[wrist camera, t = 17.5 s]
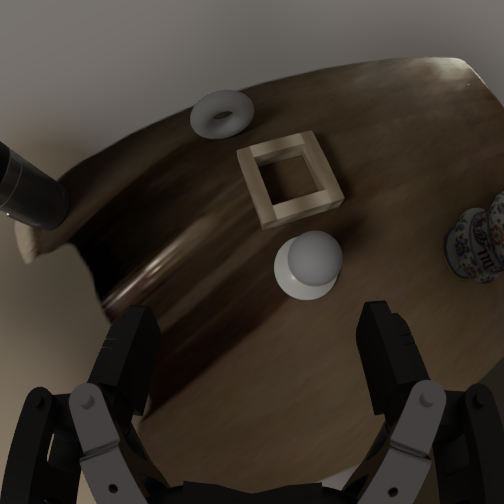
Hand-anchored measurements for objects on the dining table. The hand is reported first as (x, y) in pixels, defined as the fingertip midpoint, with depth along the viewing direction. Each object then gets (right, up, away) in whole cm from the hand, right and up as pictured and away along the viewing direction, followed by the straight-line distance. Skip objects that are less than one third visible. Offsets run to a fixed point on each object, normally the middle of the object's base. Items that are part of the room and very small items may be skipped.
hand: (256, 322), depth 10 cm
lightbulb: (+7, 0, +28) cm, 29 cm away
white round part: (+7, 0, +29) cm, 30 cm away
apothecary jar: (+36, +3, +28) cm, 46 cm away
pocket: (+5, +13, +32) cm, 35 cm away
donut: (-4, +22, +34) cm, 41 cm away
